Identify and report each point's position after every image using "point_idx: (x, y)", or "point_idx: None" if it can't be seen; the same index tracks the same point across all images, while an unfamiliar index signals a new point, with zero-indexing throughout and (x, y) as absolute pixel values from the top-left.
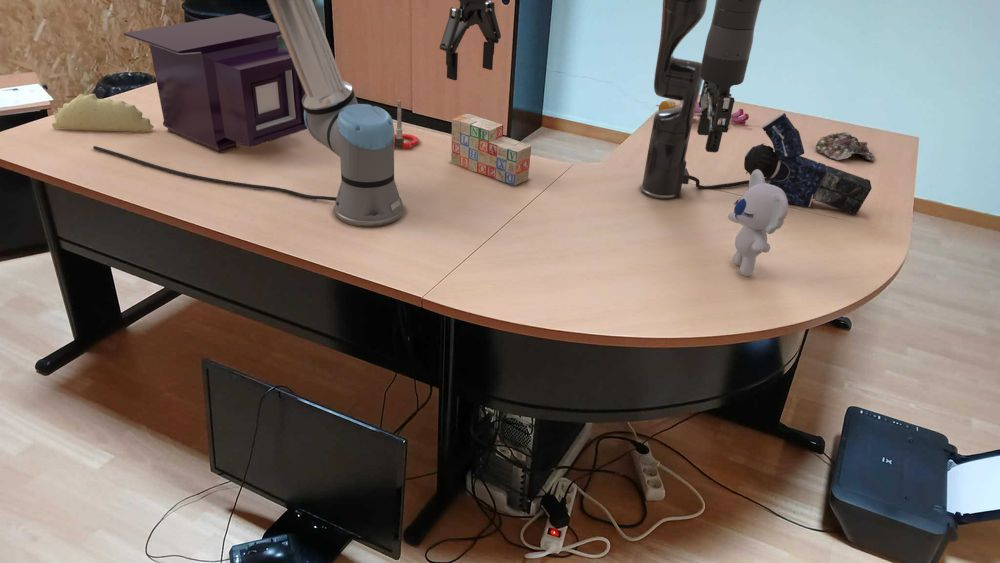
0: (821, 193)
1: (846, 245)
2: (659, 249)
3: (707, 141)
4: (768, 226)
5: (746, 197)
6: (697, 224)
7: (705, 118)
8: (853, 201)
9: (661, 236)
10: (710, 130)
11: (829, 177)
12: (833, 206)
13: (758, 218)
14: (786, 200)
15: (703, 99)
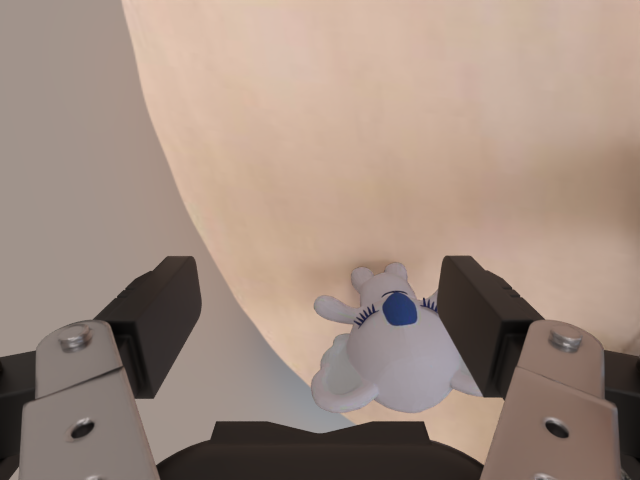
0: None
1: (463, 422)
2: (442, 139)
3: (150, 279)
4: (344, 343)
5: (404, 331)
6: (541, 228)
7: (484, 338)
8: None
9: (495, 150)
10: (62, 329)
11: (621, 476)
12: None
13: (354, 333)
14: (326, 410)
15: (517, 457)
